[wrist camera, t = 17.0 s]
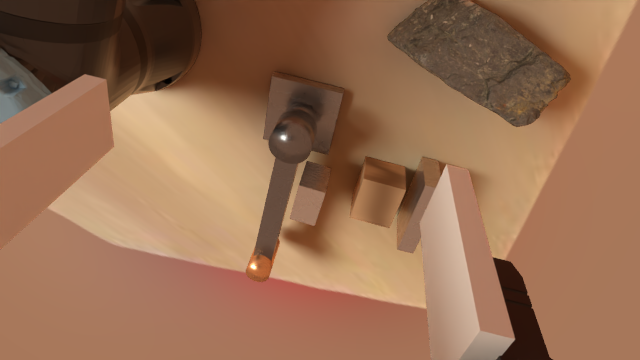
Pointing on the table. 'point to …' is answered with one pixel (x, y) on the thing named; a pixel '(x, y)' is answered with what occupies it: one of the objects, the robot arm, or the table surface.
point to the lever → (288, 187)
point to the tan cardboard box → (378, 192)
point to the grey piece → (324, 110)
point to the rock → (481, 58)
